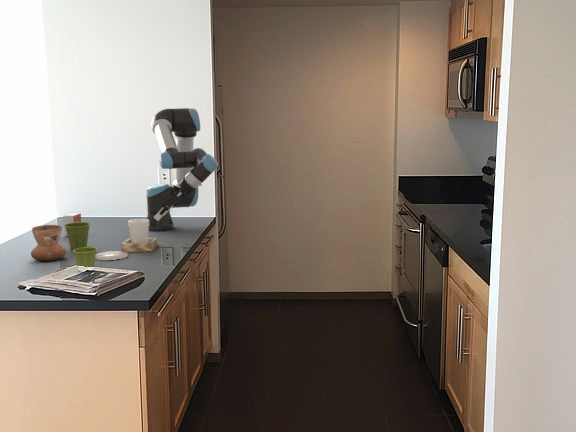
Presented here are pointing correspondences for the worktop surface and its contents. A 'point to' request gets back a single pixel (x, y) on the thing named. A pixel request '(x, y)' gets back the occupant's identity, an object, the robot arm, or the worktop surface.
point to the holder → (139, 246)
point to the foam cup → (139, 230)
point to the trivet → (111, 255)
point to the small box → (71, 219)
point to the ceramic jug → (47, 243)
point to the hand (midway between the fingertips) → (158, 216)
